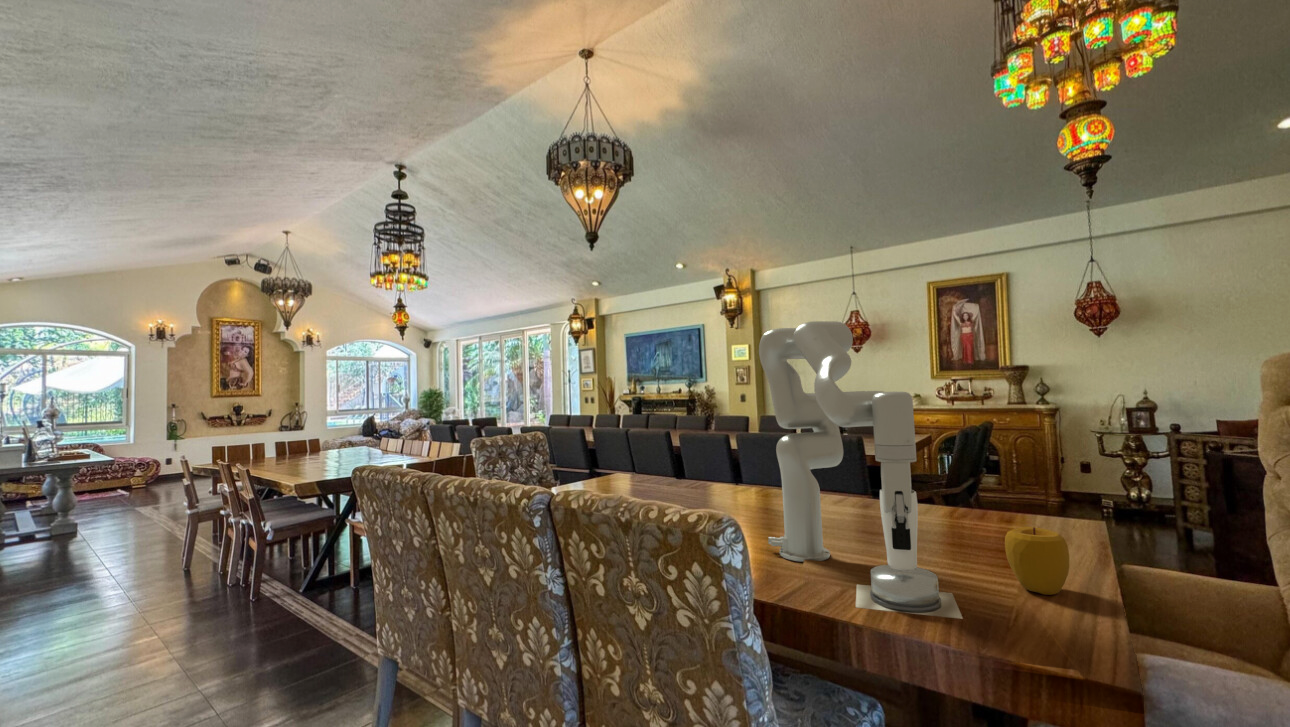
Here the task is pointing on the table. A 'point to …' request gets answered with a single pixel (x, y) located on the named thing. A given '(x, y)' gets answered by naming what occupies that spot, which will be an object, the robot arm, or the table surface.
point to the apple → (1038, 559)
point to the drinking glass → (908, 558)
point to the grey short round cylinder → (905, 589)
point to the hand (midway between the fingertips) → (900, 543)
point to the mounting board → (946, 610)
